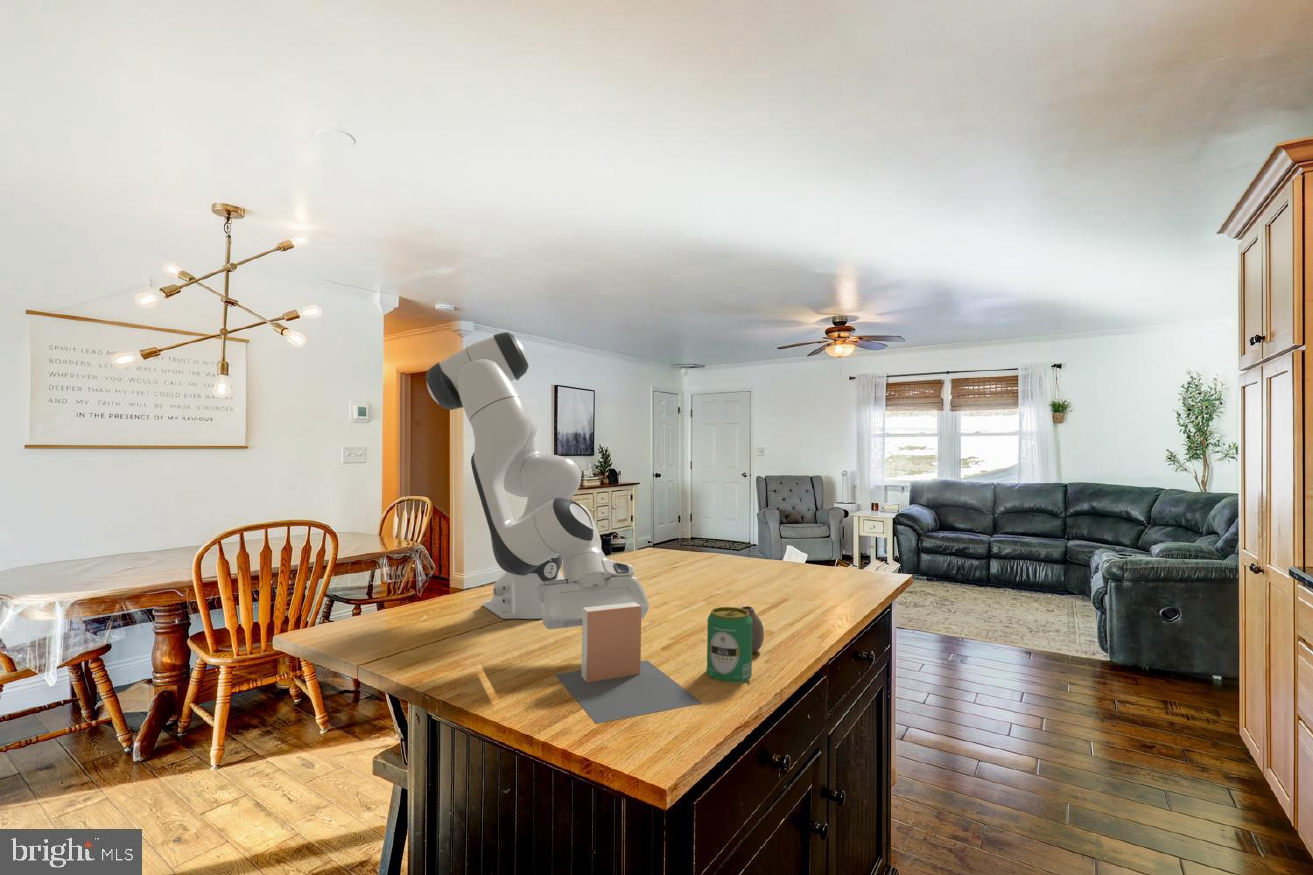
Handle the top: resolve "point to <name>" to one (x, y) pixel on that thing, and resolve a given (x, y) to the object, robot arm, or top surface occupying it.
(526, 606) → the robot arm
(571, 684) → the mat
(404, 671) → the top surface
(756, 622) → the vase
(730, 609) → the beverage can
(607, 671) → the tile
